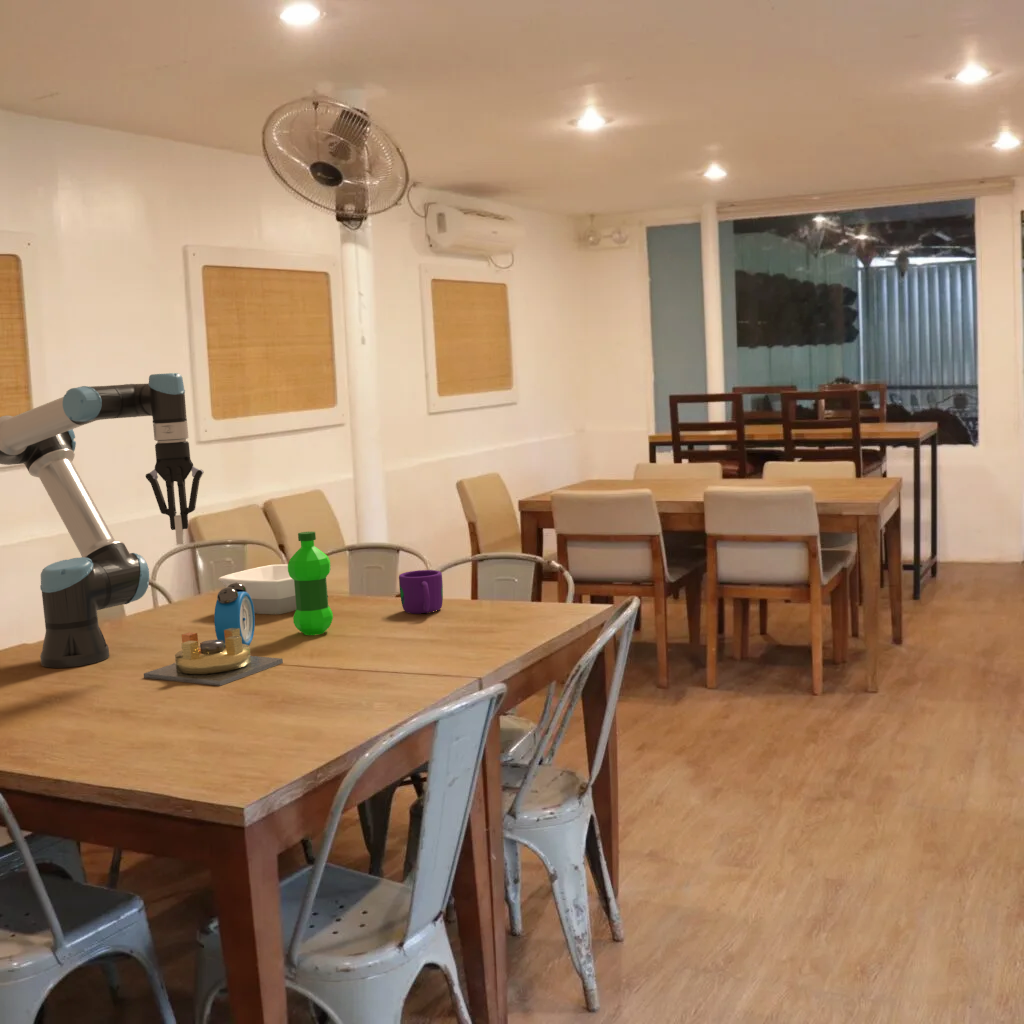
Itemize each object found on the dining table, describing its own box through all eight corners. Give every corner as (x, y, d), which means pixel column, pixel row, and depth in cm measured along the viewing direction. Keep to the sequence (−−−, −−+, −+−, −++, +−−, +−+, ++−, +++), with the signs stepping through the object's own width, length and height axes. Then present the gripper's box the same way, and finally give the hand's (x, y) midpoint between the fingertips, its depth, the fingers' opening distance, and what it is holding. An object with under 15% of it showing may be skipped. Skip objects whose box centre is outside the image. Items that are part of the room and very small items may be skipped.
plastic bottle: (340, 633, 299) (332, 532, 296) (297, 639, 295) (289, 537, 292) (330, 626, 308) (323, 528, 306) (289, 632, 305) (281, 532, 302)
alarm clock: (241, 653, 284) (236, 589, 282) (215, 654, 285) (210, 590, 283) (257, 640, 297) (252, 579, 295) (232, 641, 298) (227, 580, 296)
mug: (398, 608, 327) (396, 572, 325) (441, 604, 329) (438, 568, 328) (406, 621, 310) (403, 582, 308) (450, 617, 312) (448, 578, 311)
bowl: (341, 602, 341) (338, 566, 340) (279, 620, 320) (276, 582, 319) (276, 597, 354) (273, 563, 353) (213, 615, 333) (209, 578, 332)
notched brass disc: (215, 676, 258) (212, 646, 257) (160, 670, 266) (157, 641, 265) (266, 658, 271) (263, 629, 271) (212, 653, 279) (210, 625, 279)
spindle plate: (144, 677, 265) (143, 672, 265) (208, 656, 283) (208, 651, 283) (220, 685, 255) (219, 680, 254) (282, 662, 272) (282, 657, 272)
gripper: (139, 444, 274) (148, 547, 277) (198, 440, 276) (207, 543, 278) (145, 442, 282) (155, 543, 285) (203, 438, 283) (212, 539, 286)
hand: (181, 543), depth 282 cm, fingers closed
